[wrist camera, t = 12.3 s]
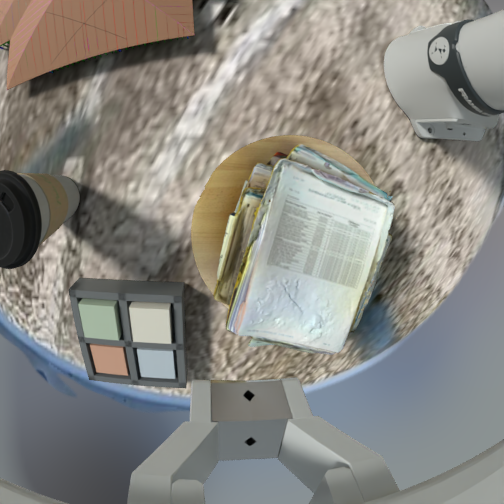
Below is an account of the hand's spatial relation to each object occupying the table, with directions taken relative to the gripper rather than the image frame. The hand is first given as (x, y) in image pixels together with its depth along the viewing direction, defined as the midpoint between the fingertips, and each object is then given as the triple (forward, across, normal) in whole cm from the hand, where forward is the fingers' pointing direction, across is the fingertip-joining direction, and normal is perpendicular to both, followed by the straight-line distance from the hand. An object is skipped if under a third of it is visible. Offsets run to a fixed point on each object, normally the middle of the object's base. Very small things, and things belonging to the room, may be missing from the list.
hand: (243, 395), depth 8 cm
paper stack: (+31, -9, +3) cm, 33 cm away
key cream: (+28, +8, +14) cm, 32 cm away
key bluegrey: (+29, +8, +21) cm, 37 cm away
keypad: (+31, +12, +18) cm, 37 cm away
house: (+31, +20, -30) cm, 48 cm away
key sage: (+28, +15, +14) cm, 35 cm away
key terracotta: (+29, +15, +21) cm, 39 cm away
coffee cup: (+31, +21, -1) cm, 37 cm away
